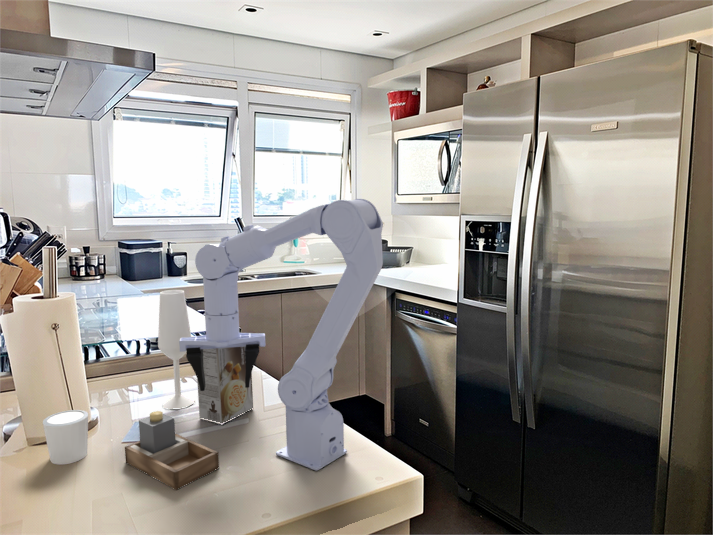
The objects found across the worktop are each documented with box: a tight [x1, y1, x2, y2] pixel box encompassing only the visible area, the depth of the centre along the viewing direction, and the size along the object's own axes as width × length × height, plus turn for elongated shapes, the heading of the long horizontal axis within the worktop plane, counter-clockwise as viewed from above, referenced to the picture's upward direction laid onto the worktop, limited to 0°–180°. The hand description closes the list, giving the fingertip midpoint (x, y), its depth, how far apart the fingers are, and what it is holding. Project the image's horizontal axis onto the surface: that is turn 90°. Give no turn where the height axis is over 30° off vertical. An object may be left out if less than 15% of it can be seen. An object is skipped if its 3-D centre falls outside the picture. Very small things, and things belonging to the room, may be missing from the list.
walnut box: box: [124, 433, 220, 491], centre depth 90 cm, size 14×8×3 cm, turn 52°
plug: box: [138, 410, 176, 454], centre depth 91 cm, size 4×4×8 cm
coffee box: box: [196, 347, 254, 423], centre depth 109 cm, size 9×6×16 cm
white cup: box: [42, 409, 89, 465], centre depth 93 cm, size 7×7×7 cm
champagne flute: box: [157, 289, 195, 409], centre depth 114 cm, size 7×7×24 cm
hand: (225, 387), depth 97 cm, fingers open, 7 cm apart
